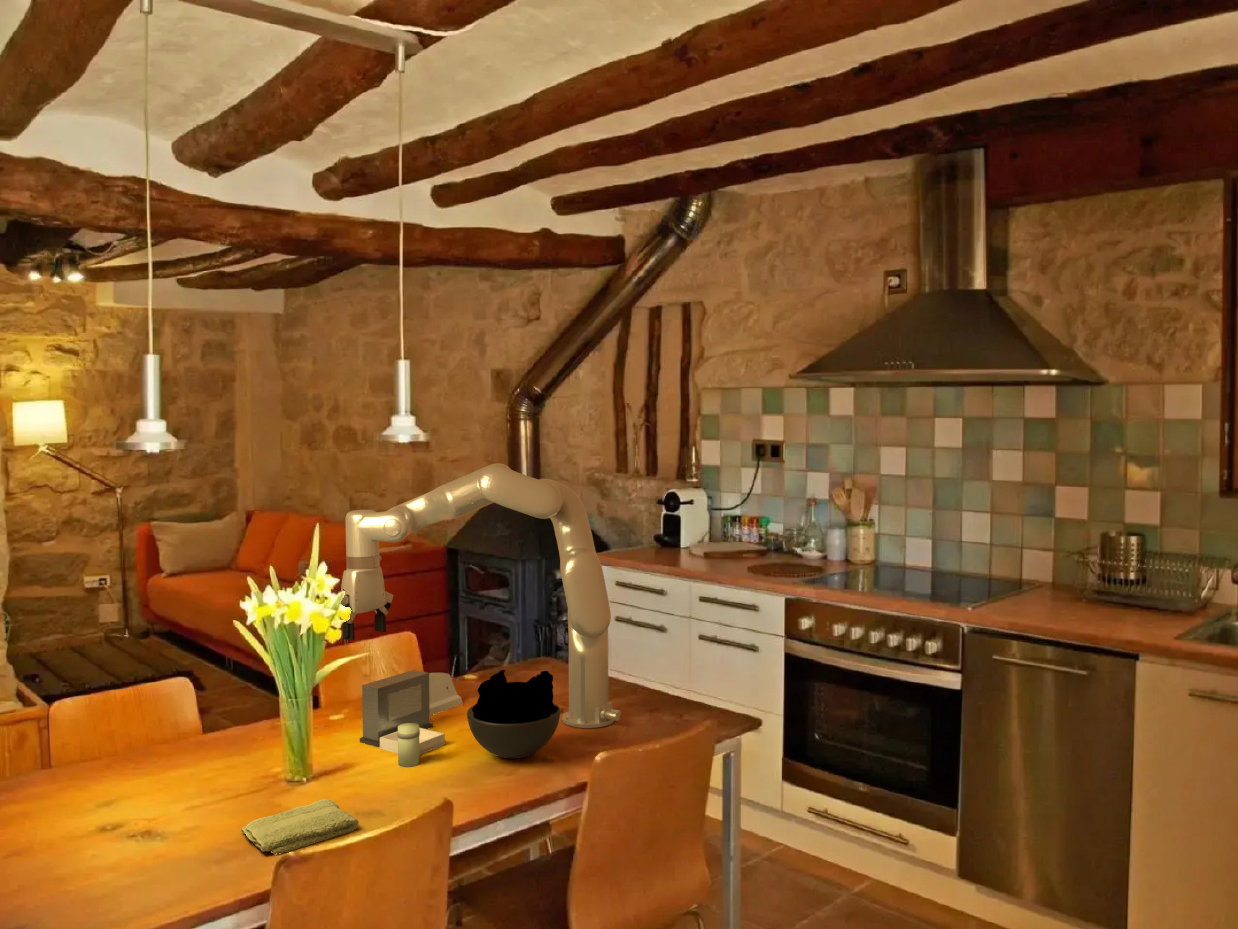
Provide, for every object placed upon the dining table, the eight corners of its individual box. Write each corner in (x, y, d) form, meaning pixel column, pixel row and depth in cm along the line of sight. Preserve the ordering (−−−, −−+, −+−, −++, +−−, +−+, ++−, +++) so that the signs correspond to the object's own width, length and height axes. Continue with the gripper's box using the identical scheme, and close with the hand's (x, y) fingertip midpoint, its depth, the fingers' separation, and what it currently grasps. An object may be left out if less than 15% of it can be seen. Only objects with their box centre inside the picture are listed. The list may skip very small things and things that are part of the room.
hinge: (418, 721, 246) (407, 680, 248) (404, 724, 249) (394, 684, 250) (464, 703, 261) (453, 665, 262) (450, 707, 263) (440, 669, 264)
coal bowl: (448, 763, 217) (448, 675, 216) (499, 736, 235) (498, 655, 234) (531, 778, 209) (530, 687, 208) (576, 748, 227) (576, 664, 226)
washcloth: (237, 836, 182) (236, 818, 182) (331, 811, 193) (331, 794, 193) (264, 862, 172) (264, 843, 171) (362, 833, 183) (362, 816, 183)
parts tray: (444, 744, 229) (444, 733, 229) (412, 757, 221) (412, 746, 221) (412, 736, 235) (412, 726, 235) (379, 748, 227) (379, 737, 226)
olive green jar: (424, 762, 218) (424, 725, 218) (408, 768, 214) (408, 731, 214) (409, 758, 221) (408, 721, 220) (393, 764, 217) (392, 727, 216)
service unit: (432, 727, 242) (432, 672, 241) (378, 747, 228) (377, 689, 227) (414, 723, 245) (413, 669, 244) (359, 742, 231) (358, 685, 230)
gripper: (379, 557, 249) (381, 627, 250) (322, 566, 235) (324, 641, 236) (401, 559, 245) (403, 630, 246) (345, 569, 231) (347, 645, 232)
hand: (364, 635), depth 241 cm, fingers open, 9 cm apart
